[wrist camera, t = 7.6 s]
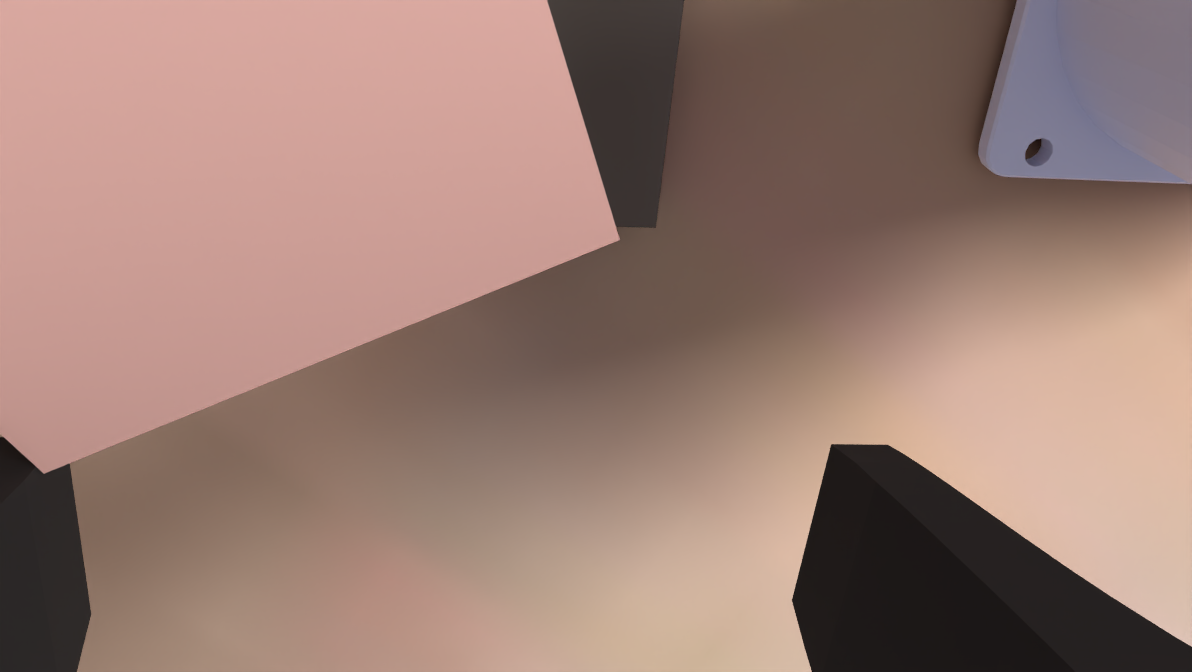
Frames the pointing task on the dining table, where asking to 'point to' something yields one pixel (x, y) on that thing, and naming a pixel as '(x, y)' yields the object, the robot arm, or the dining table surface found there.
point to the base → (623, 92)
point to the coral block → (262, 192)
